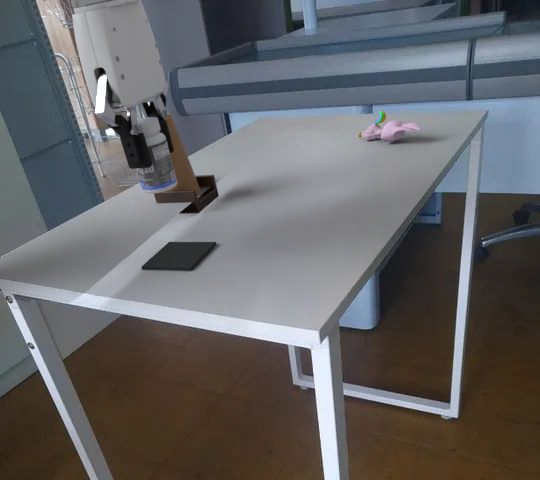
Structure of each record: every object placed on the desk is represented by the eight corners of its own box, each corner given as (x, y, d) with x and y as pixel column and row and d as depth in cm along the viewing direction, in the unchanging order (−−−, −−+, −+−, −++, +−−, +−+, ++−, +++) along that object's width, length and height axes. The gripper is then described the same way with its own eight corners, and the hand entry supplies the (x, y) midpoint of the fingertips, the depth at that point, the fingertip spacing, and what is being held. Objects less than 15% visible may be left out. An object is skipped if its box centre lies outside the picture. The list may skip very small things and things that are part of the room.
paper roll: (132, 128, 88) (159, 119, 85) (149, 118, 92) (176, 110, 89) (167, 210, 95) (193, 204, 92) (182, 198, 99) (208, 192, 96)
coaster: (142, 269, 77) (141, 266, 76) (170, 244, 82) (169, 241, 82) (191, 270, 74) (190, 267, 73) (216, 244, 79) (216, 241, 79)
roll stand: (159, 214, 95) (153, 192, 92) (181, 196, 100) (175, 176, 98) (198, 213, 92) (193, 191, 89) (218, 195, 97) (214, 174, 95)
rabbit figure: (353, 149, 111) (406, 145, 99) (348, 118, 109) (402, 110, 96) (376, 140, 114) (431, 135, 101) (371, 109, 111) (427, 101, 99)
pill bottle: (135, 192, 72) (114, 126, 67) (161, 180, 75) (143, 115, 70) (159, 195, 69) (139, 126, 65) (185, 182, 72) (168, 115, 67)
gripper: (119, -10, 67) (160, 142, 78) (26, 7, 55) (90, 185, 65) (171, -22, 64) (207, 138, 75) (84, -6, 52) (142, 182, 63)
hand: (152, 158), depth 70 cm, fingers closed on pill bottle, 4 cm apart
